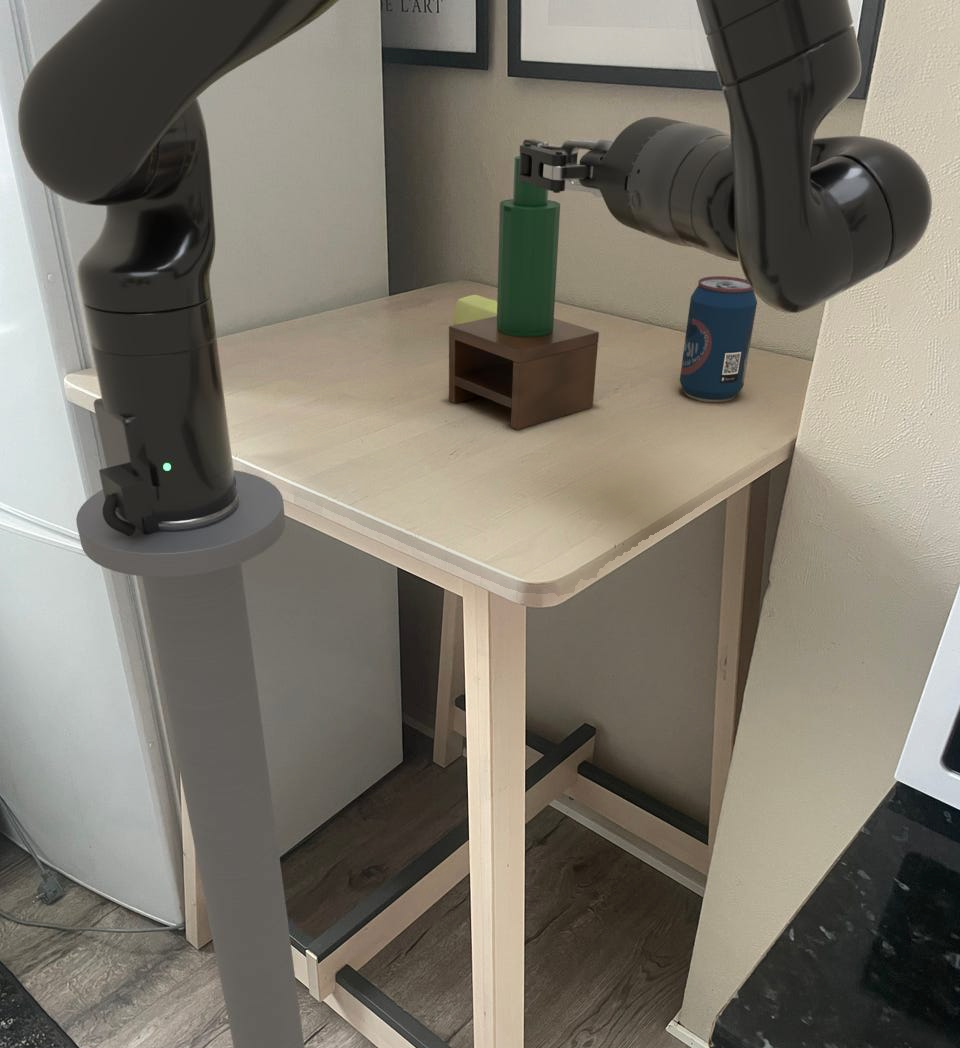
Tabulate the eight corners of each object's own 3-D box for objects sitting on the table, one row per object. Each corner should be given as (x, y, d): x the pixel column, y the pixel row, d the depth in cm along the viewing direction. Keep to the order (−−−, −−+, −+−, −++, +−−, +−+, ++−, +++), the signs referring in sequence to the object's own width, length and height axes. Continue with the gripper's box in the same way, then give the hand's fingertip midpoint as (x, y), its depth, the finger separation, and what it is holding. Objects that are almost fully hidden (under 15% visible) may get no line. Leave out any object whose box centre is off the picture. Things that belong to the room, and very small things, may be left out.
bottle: (523, 340, 98) (530, 163, 89) (485, 327, 101) (488, 156, 93) (564, 330, 101) (575, 158, 92) (526, 318, 105) (533, 152, 96)
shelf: (517, 430, 99) (520, 351, 95) (448, 400, 106) (448, 326, 102) (593, 407, 105) (599, 331, 101) (523, 381, 112) (526, 309, 108)
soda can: (667, 386, 111) (681, 276, 105) (721, 381, 113) (738, 273, 107) (697, 407, 106) (713, 292, 99) (753, 401, 108) (773, 288, 101)
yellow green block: (484, 301, 113) (448, 283, 130) (472, 349, 115) (438, 325, 132) (591, 328, 117) (542, 306, 135) (578, 374, 119) (532, 347, 137)
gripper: (771, 121, 69) (652, 100, 82) (593, 124, 64) (495, 101, 77) (752, 234, 73) (641, 198, 86) (583, 245, 69) (492, 204, 81)
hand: (572, 152), depth 81 cm, fingers open, 8 cm apart
